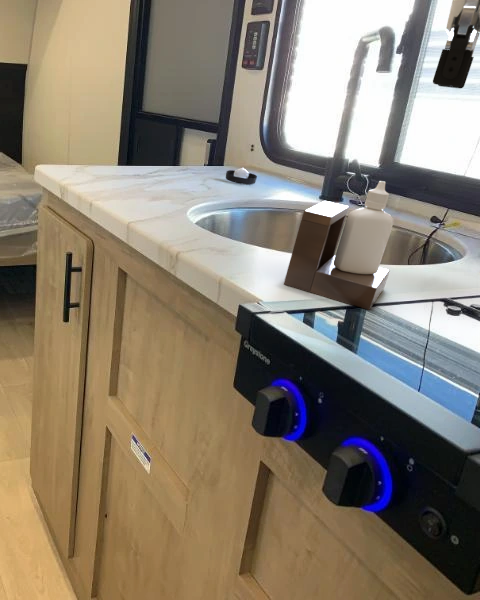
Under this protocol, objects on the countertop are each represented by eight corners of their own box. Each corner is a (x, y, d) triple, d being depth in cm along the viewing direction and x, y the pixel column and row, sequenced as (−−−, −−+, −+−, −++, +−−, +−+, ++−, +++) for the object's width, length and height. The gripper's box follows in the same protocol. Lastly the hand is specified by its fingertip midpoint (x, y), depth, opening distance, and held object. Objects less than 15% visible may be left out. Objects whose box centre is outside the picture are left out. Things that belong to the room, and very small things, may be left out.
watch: (254, 183, 154) (258, 169, 153) (255, 186, 150) (258, 172, 149) (224, 178, 155) (227, 164, 154) (224, 181, 151) (227, 167, 150)
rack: (383, 289, 84) (407, 219, 80) (369, 310, 75) (395, 232, 71) (304, 267, 89) (324, 200, 85) (283, 284, 80) (303, 210, 77)
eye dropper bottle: (332, 261, 83) (358, 175, 79) (376, 271, 81) (405, 183, 77) (331, 269, 79) (359, 179, 75) (377, 279, 77) (408, 188, 73)
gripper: (540, -84, 63) (481, 88, 69) (529, -50, 76) (481, 91, 83) (459, -83, 66) (410, 80, 72) (463, -51, 80) (421, 84, 86)
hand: (448, 86), depth 78 cm, fingers open, 9 cm apart
